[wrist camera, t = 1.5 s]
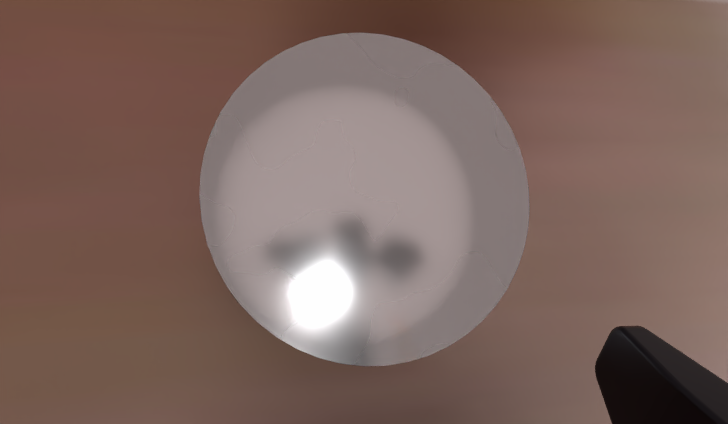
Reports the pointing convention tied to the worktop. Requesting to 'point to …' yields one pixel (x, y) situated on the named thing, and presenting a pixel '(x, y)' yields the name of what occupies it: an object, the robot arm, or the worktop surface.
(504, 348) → the worktop surface
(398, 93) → the grey can
